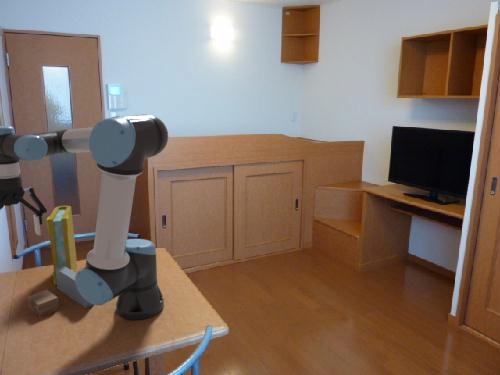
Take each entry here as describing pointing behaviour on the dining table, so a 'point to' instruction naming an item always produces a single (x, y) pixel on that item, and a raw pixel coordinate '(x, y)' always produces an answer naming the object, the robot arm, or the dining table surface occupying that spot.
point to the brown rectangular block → (43, 303)
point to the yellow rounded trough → (62, 239)
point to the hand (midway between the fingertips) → (16, 239)
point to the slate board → (69, 285)
